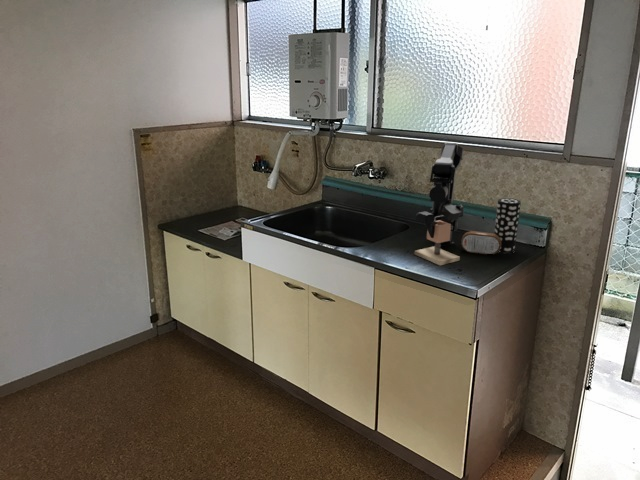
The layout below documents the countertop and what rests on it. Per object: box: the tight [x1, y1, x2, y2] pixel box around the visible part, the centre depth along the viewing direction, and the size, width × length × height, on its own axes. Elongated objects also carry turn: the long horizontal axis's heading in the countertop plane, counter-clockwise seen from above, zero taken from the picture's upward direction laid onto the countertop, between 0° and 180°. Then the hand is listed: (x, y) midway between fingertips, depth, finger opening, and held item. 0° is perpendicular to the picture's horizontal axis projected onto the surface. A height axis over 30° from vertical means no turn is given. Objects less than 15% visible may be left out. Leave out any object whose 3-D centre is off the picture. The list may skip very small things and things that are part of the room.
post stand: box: [414, 242, 461, 266], centre depth 197 cm, size 10×14×9 cm
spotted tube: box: [493, 197, 522, 253], centre depth 204 cm, size 8×8×20 cm
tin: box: [460, 230, 501, 255], centre depth 202 cm, size 15×3×8 cm, turn 70°
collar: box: [426, 220, 451, 243], centre depth 196 cm, size 6×6×6 cm
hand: (438, 236), depth 196 cm, fingers closed on collar, 6 cm apart
